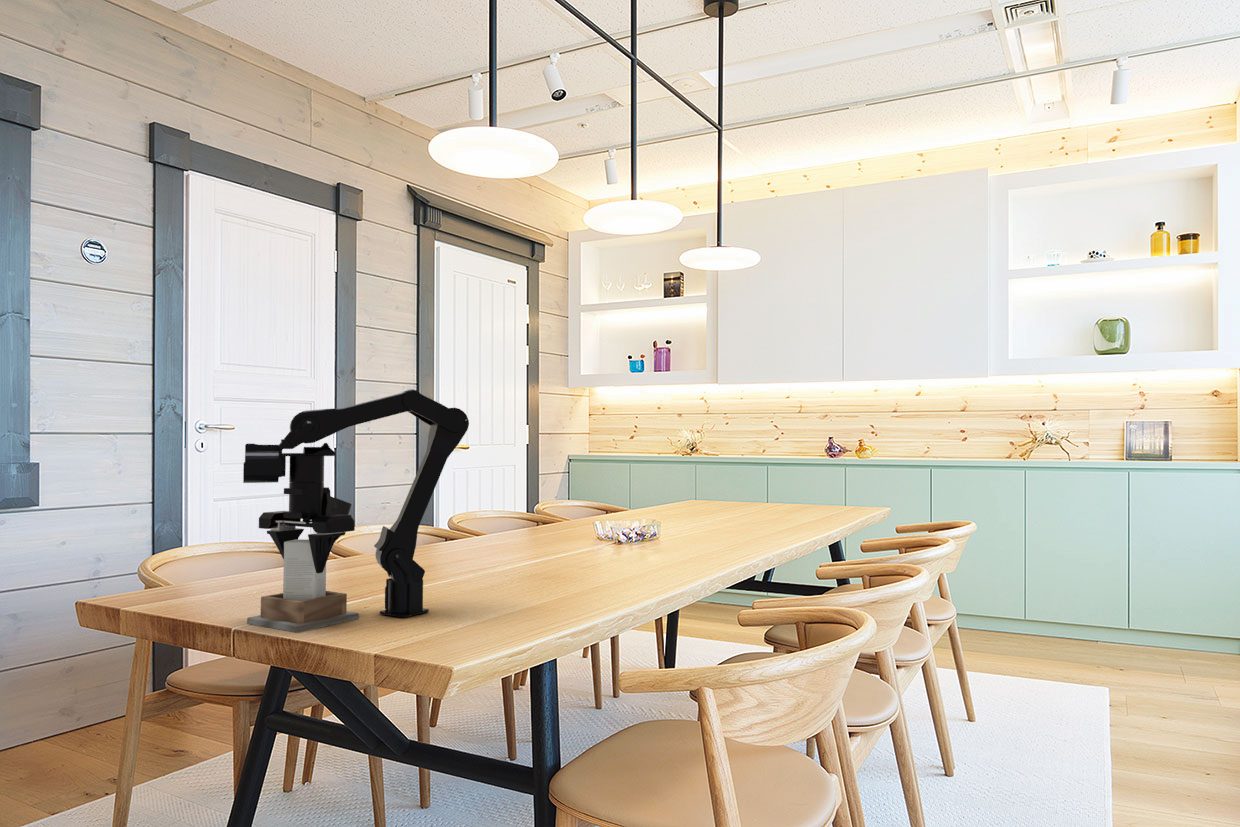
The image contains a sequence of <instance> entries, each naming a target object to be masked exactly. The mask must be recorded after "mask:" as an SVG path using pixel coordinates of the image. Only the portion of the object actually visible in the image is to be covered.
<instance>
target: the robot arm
mask: <svg viewBox="0 0 1240 827" xmlns="http://www.w3.org/2000/svg"><path fill="white" fill-rule="evenodd" d="M406 412H407V413H409V414H411V415H412V416H414V417H415V418H417V419H419V420H420V421H421V422H422V423H424V424H426V425H428V426H429V432H428V436H427V444H426V450H425V453H424V456H423V458H422V460H421V463H420V465H419V468H418V469H417V473H415V477H414V480H413V482H412V484H411V486H410V489H409V491H408V493H407V496H406V498H405V500H404V503H403V504H402V507H401V510H400V513H399V515H398V517H397V519H396V520H395V522H394V523H393V524H392V525H391V526H390V528H388V527H386V526H382V528H381V531H380V536H379V538H378V541H377V542H376V543H375V544H374V545H373V547H374V548H375V549H376V551H375V560H376V563H377V564H378V565H379V566H380V567H381V568H382V570H384V571H385V572H386V573H387V576H388V578H386V580H385V581H386V582H385V586H384V609H383V610H379V614H380V615H386V616H391V617H397V618H408V617H412V616H416V615H420V614H421V615H422V614H424V613H429V612H430V609H429V608H424V577H425V572H426V571H425V569H424V568H423V567H422V566H420V564H418V563H417V561H415V560H414V554H415V551H416V548H417V540H418V533H419V532H418V531H419V527H420V524H421V522H422V521H423V517H424V515H425V513H426V510H427V508H428V506H429V503H430V501H431V499H432V496H433V493H434V491H435V490H436V487H437V486H436V485H437V484H438V481H439V479H440V477H441V474H442V472H443V470H444V468H445V466H446V463H447V460H448V458H449V457H450V455H451V454H452V453H453V452H454V450H455V449H456V447H458V446H459V444H460V443H461V441H462V439H463V438H464V436H465V434H466V433H467V431H468V430H469V427H470V426H469V424H470V420H469V418H468V416H467V414H466V413H465V411H463V410H462V409H460V408H457V407H447V406H446V405H444V404H442V403H440V402H438V401H436V400H434V399H431V398H430V397H428V396H426V395H425V394H422V393H420V392H419V391H418V390H417V389H407V390H405V391H402V392H400V393H397V394H393V395H388V396H384V397H381V398H380V397H379V398H376V399H372V400H369V401H365V402H360V403H357V404H353V405H348V406H344V407H337V408H323V409H321V408H320V409H310V410H303V411H301V412H298V413H296V414H295V415H294V416H293V417H292V419H291V421H290V422H289V432H288V433H287V435H285V437H284V438H283V439H280V443H279V444H259V443H258V444H256V443H245V445H244V447H245V448H244V462H243V469H242V471H243V472H242V473H243V477H242V478H243V480H242V481H243V484H265V483H266V484H267V483H268V484H269V483H271V484H272V483H279V478H282V477H284V478H285V477H286V468H287V464H286V462H287V460H286V459H287V458H286V457H289V471H288V472H289V475H288V476H289V477H288V480H289V484H288V487H284V488H283V495H288V497H289V498H288V510H277V511H266V512H263V513H262V514H260V516H259V517H258V529H262V530H263V529H264V530H266V534H267V535H269V536H270V538H271V540H272V541H273V543H274V545H275V546H276V547H277V549H278V552H279V553H280V556H281V558H282V560H283V561H284V542H286V541H291V540H295V539H299V538H300V536H301V535H302V533H303V532H304V530H305V528H312V530H313V531H314V533H308V534H307V539H308V540H309V543H310V547H311V552H312V557H313V562H314V566H315V570H316V573H322V572H323V570H324V568H325V565H326V566H327V562H328V558H329V557H330V554H331V550H333V546H334V544H335V542H337V540H338V539H339V538H341V537H342V536H345V535H346V532H348V533H349V532H354V531H355V529H356V528H355V527H356V525H355V524H356V520H355V518H354V516H352V514H350V511H351V509H352V503H351V502H348V501H345V500H344V499H343V500H342V499H339V498H336V497H333V496H331V489H330V487H325V457H334V456H335V457H336V451H334V450H333V449H332V448H331V447H330V445H329V443H327V442H324V443H322V445H321V446H304V447H303V450H302V452H291V453H290V452H286V453H285V452H284V453H283V450H292V449H295V448H296V447H298V446H300V445H301V444H313V443H317V442H318V441H320V440H323V439H325V438H327V437H329V436H331V435H334V434H335V433H338V432H340V431H343V430H345V429H347V428H350V427H353V426H357V425H361V424H363V423H368V422H372V421H376V420H380V419H383V418H387V417H391V416H395V415H398V414H402V413H406ZM296 527H297V528H296ZM299 527H300V528H299ZM301 527H302V528H301Z"/></svg>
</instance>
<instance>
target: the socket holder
mask: <svg viewBox="0 0 1240 827" xmlns="http://www.w3.org/2000/svg"><path fill="white" fill-rule="evenodd" d="M347 598H348V594H347V592H346V593H343V592H337V591H330V590H326V596H325V597H319V598H314V599H309V600H303V601H297V600H290V599H283V592H280V593H275V594H270V595H263V596H261V597H260V615H256V616H255V615H254V616H250V617H247V619H246V624H248V625H253V626H258V627H263V628H269V629H274V630H275V629H277V630H281V631H286V632H293V633H301V632H306V631H311V630H314V629H319V628H323V627H327V626H328V627H329V626H332V625H337V624H342V623H345V622H351V621H355V620H359V618H360V613H359V612H354V611H348V609H347V604H348V602H347V600H348V599H347Z"/></svg>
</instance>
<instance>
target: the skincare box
mask: <svg viewBox="0 0 1240 827" xmlns="http://www.w3.org/2000/svg"><path fill="white" fill-rule="evenodd" d="M326 587H327V564H326V565H325V568H324V570H323V572H322V573H316V570H315V566H314V562H313V557H312V552H311V547H310V543H309V539H303V538H302V539H299V538H298V539H295V540H291V541H286V542H284V560H283V584H282V588H283V592H282V593H283V599H290V600H297V601H303V600H309V599H314V598H319V597H325V596H326V591H327V588H326Z"/></svg>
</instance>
